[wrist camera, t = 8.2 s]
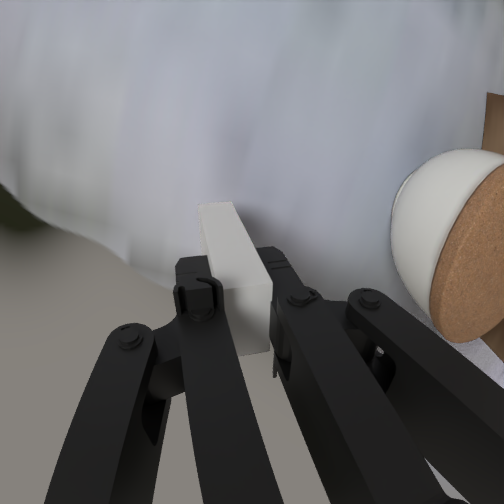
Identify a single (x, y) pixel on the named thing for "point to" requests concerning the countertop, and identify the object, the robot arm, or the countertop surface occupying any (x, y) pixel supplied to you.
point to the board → (500, 141)
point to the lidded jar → (453, 241)
